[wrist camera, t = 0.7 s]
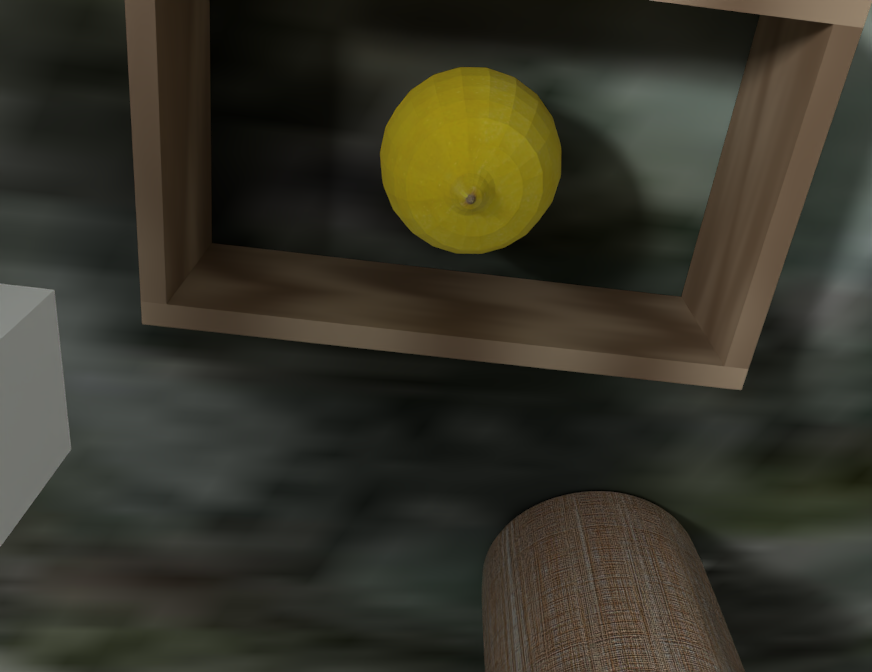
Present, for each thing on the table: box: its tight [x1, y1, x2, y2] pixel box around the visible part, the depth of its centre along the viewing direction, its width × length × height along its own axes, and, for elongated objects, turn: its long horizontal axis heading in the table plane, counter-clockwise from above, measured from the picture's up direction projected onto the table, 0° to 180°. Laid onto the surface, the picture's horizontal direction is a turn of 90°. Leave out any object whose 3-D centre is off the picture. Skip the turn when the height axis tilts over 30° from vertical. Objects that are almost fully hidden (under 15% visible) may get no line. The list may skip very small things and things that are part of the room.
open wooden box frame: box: [125, 0, 872, 390], centre depth 26 cm, size 20×12×6 cm, turn 83°
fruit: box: [380, 67, 561, 254], centre depth 25 cm, size 6×6×8 cm
